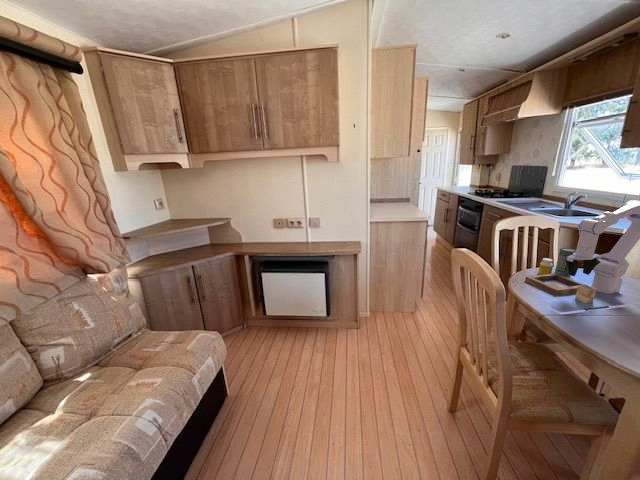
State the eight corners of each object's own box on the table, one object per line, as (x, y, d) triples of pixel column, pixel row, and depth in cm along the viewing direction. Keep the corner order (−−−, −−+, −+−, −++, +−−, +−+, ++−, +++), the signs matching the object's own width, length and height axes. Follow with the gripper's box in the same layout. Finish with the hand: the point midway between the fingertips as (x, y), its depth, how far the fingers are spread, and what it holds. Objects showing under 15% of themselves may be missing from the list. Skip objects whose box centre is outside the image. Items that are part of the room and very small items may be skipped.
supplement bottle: (540, 272, 146) (543, 256, 143) (552, 275, 141) (555, 259, 139) (536, 275, 143) (539, 259, 140) (548, 278, 139) (552, 261, 136)
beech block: (582, 298, 117) (586, 284, 115) (592, 303, 113) (596, 288, 111) (574, 299, 116) (578, 285, 115) (584, 304, 113) (588, 289, 111)
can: (572, 277, 139) (579, 250, 135) (564, 278, 138) (570, 251, 134) (560, 272, 145) (566, 247, 141) (551, 274, 143) (557, 248, 139)
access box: (554, 279, 137) (556, 273, 136) (588, 293, 122) (590, 286, 121) (524, 282, 135) (525, 276, 134) (555, 297, 120) (556, 290, 119)
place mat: (580, 295, 121) (581, 294, 120) (609, 307, 110) (609, 306, 110) (560, 297, 119) (560, 297, 119) (586, 310, 109) (587, 309, 109)
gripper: (590, 242, 119) (582, 269, 123) (562, 244, 118) (556, 272, 121) (608, 247, 113) (600, 275, 116) (579, 249, 111) (572, 278, 115)
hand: (578, 274), depth 118 cm, fingers open, 7 cm apart
